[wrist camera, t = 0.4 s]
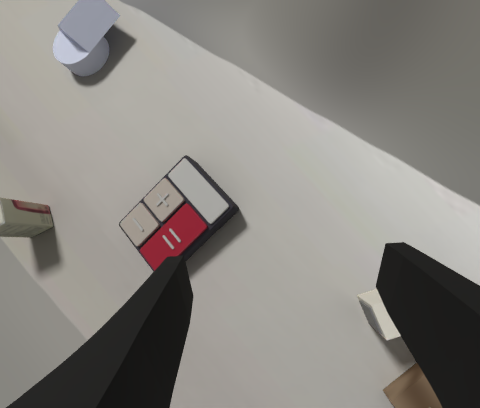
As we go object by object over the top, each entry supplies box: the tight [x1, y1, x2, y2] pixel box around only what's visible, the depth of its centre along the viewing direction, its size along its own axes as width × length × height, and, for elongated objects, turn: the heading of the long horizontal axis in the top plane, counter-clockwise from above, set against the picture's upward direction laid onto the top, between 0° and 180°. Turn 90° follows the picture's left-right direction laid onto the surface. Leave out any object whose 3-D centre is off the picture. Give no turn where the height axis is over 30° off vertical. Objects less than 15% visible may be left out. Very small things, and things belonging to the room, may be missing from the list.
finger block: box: [357, 289, 401, 340], centre depth 29 cm, size 4×5×6 cm
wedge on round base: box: [53, 0, 120, 76], centre depth 45 cm, size 9×7×13 cm
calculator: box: [119, 155, 239, 271], centre depth 38 cm, size 11×4×15 cm
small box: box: [0, 198, 53, 237], centre depth 40 cm, size 5×4×8 cm
